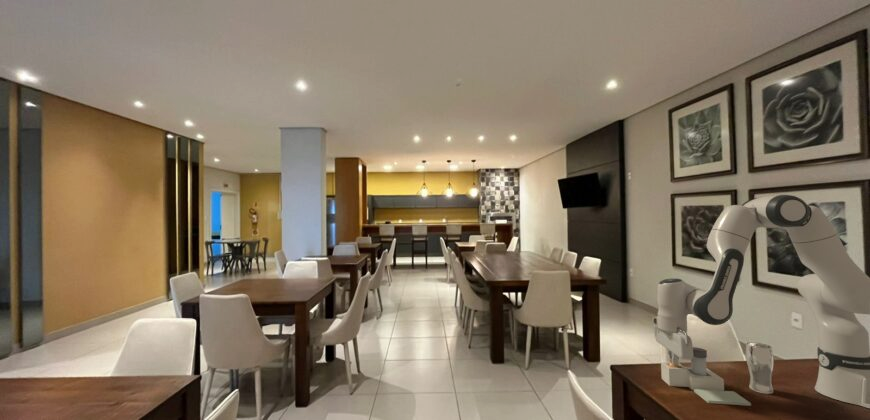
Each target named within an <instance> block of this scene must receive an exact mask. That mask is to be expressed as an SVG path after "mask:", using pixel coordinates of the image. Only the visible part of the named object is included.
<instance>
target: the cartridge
mask: <svg viewBox="0 0 870 420" xmlns="http://www.w3.org/2000/svg"><path fill="white" fill-rule="evenodd" d="M693 355H694V357H693V359H692V360H690V367H691V373H692V374H693V375H697V376H707V370H706V368H707V358H708V351H707V349H704V348H701V347H694V346H693Z"/></svg>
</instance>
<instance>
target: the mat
mask: <svg viewBox="0 0 870 420" xmlns="http://www.w3.org/2000/svg"><path fill="white" fill-rule="evenodd" d="M693 392H694V393H695V394H697V395H698V396H699V397H700V398H702V400H704V401H705V402H706V403H707V404H717V405H733V406H734V405H735V406H748V407H749V406H752V403H751V402H750V401H748V400H747V399H745V398H744V397H743V396H741V395H740V394H739V393H737V392H735V391H730V390H724V391H718V390H700V389H694V390H693Z"/></svg>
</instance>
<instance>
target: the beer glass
mask: <svg viewBox="0 0 870 420" xmlns="http://www.w3.org/2000/svg"><path fill="white" fill-rule="evenodd" d="M773 352H774V351H773V347H772V346H771V345H769V344H765V343H761V342H755V341H747V342H746V343H745V359H746V364H747V365H746V366H747V368H748V371H749V376H750V377H749V379H750V380H749V385H748V386H749V389H750V390H752V391H754V392H757V393H760V394H765V395H772V394H773V393H774V388H773V385H772V376H773V370H774V353H773Z"/></svg>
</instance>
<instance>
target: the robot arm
mask: <svg viewBox="0 0 870 420" xmlns="http://www.w3.org/2000/svg"><path fill="white" fill-rule="evenodd" d="M758 228H764V229H765V228H766V229H775V228H776V229H777V228H783V229H784V230H785V231H786V232H787V233H788V237H789V239H790V240H791V243H792V246H793V247H794V250H795V251H796V253H797V256H798V258H799V260H800V262H801V264H802V265H804V266H805V267H806V268H808V269H809V270H811V272H813V273H810V274H809V273H808V274H806V275H803V276H802V277H801V278H800V279H799V280H798V282H797V290H798V293H799V294H800V295H801V296H802V298H804V299H805V301H806V302H807V304H808V305H809V308H810V310H811V312H812V315H813V317H814V319H815V322H816V327H817V328H816V329H817V336H818V347H817V361H818V364H819V365H818V374H817V379H816V383H815V386H814V390H815V391H816V392H818V393H819V394H821V395H823V396H826V397H828V398H831V399H834V400H836V401H837V400H838V401H840V402H844V403H849V404H852V405H856V406H861V407H863V408H867V409H870V336H869V335H870V334H869V331H868V329H867V328H866V327H865V326H864V325H863V324H862V323H861V322H860V321H859V320H858V318H857V317H856V315H855V314H858V315H859V314H860V315H870V276H868V275H867V274H866V273H865V272H864V271H863V270H862V269H861V268H860V267H859V266H858V264H857V263H855V262H854V260H853V259H852V257H850V255H849V253H848V252H847V250H846V248H845V246H844V244H843V242H842V240H841V239H840V237H839V235H838V233H837V231H836V230H837V229H835V227H834V225H833V224H832V222H831V221H830V219H829V218H828V217H827V215H826V214H825V213H824V211H823V210H822V209H821V208H819V207H817V206H815V205H808V204H807V203H806V202H805V201H804V200H803V199H802V198H801V197H797V196H796V195H790V194H779V195H778V194H776V195H775V194H773V195H765V196H763V197H754V198H751V199H748V200H747V201H745V202H744V203H742V204H741V205H740V204H732V205H728V206H727V207H725V208H724V209H723V210H722V211H721V213H720V215H719V216H718V217H717V218H716V221H715V222H714V224H713V226H712V228H711V230H710V232H709V235H708V237H707V241H706V249H707V251H708V252H709V253H710V255H711V256H712V257H713V258H714V261H715V263H716V269H715V272H714V274H713V277H712V280H711V284H710V286H709V288H708V290H705V289H702V288H699V287H696V286H693V285H691V284H689V283H687V282H685V281H684V280H683V279H681V278H667V279H663V280H660V281H659V283H658V285H657V291H656V303H657V306H658V311H657V316H655V317H652V323H653V328H654V329H653V330H654V338H655V341H656V342H657V343H658V344H659V345H660V346H662V347H664V348H665V349H666V353H667V355H668V362H671V363H672V364H674V365H678V363H679V359H681V360H686V361H688V360H689V361H691V360H692V359H693V357H694V355H693V347H694V345H693V342H692V339H691V336H689V335H688V315H692V316H695V317H697V319H700V320H701V321H702V322H703V323H706V324H708V325H711V326H720V325H723V324H725V323H727V322H728V321H729V320H730V319H731V318H732V316H733V311H734V309H733V308H734V306H733V305H734V304H733V299H734V295H735V293H736V289H737V286H738V283H739V280H740V277H741V274H742V270H743V267H744V262H745V255H746V251H747V249H748V247H749V244H750V242H751V239H752V237H753V235H754V233H755V231H756V230H757V229H758Z"/></svg>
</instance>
